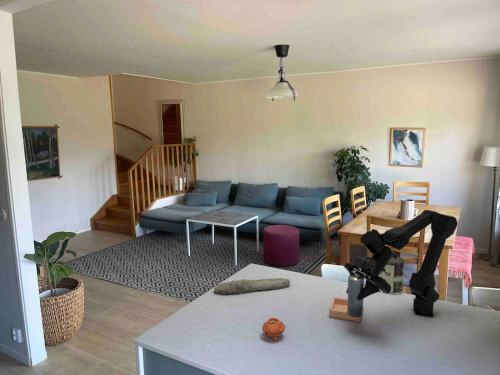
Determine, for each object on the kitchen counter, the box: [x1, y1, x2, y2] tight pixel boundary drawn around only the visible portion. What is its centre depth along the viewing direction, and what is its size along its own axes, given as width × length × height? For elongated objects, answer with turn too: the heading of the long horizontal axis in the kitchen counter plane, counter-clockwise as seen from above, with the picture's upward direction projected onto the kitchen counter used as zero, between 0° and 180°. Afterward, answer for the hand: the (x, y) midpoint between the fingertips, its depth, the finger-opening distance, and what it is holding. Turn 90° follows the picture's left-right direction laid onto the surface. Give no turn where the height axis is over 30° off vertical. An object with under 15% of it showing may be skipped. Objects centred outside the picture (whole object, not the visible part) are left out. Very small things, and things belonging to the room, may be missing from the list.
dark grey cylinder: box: [347, 275, 365, 317], centre depth 129 cm, size 5×5×13 cm
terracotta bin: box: [328, 296, 363, 323], centre depth 145 cm, size 12×12×3 cm
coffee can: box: [379, 256, 405, 295], centre depth 164 cm, size 10×10×14 cm
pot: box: [261, 317, 286, 342], centre depth 129 cm, size 8×8×7 cm
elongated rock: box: [213, 277, 291, 295], centre depth 168 cm, size 35×5×10 cm
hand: (352, 296), depth 129 cm, fingers closed on dark grey cylinder, 5 cm apart
